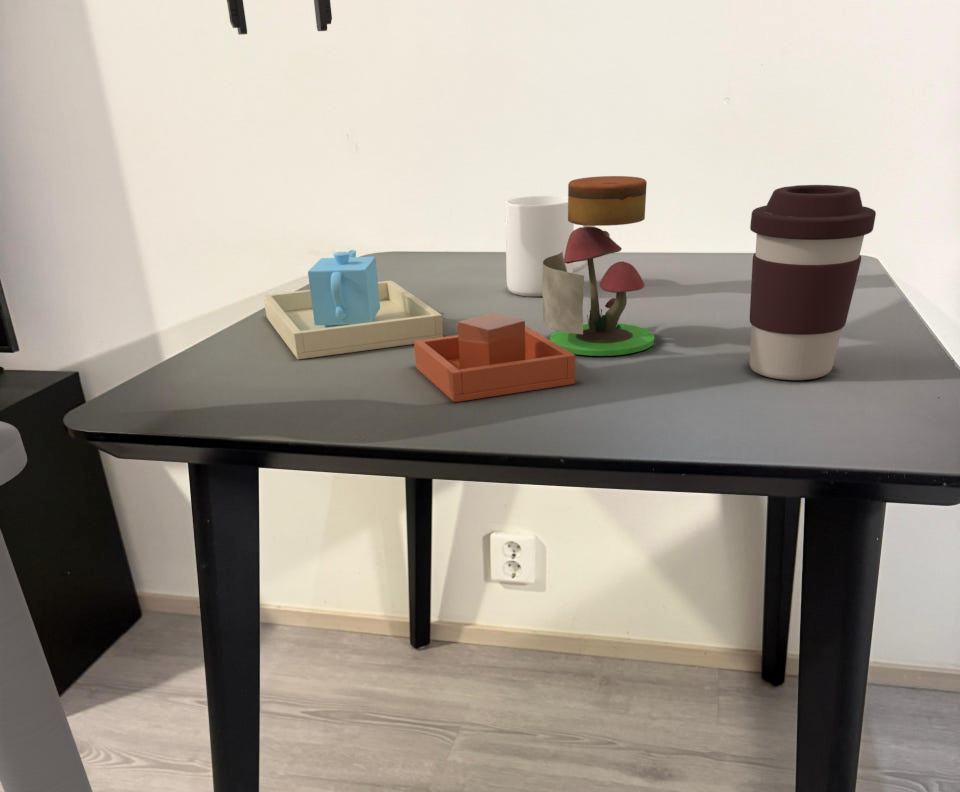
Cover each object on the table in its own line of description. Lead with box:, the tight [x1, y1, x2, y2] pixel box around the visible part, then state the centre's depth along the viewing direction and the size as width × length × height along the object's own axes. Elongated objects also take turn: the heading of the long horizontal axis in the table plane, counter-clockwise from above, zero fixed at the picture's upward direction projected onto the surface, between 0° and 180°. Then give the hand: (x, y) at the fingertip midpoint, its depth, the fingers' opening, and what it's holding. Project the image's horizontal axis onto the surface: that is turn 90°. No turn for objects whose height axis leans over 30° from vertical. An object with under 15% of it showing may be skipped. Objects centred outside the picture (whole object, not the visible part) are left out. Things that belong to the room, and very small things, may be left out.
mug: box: [504, 195, 596, 298], centre depth 114 cm, size 12×8×10 cm
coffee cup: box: [749, 184, 877, 381], centre depth 80 cm, size 10×10×15 cm
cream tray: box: [262, 280, 444, 360], centre depth 103 cm, size 16×20×3 cm
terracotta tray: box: [413, 325, 577, 403], centre depth 86 cm, size 12×12×3 cm
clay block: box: [457, 312, 526, 369], centre depth 85 cm, size 4×4×4 cm
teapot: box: [307, 249, 380, 328], centre depth 101 cm, size 12×6×8 cm, turn 177°
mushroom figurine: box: [542, 175, 655, 357], centre depth 91 cm, size 12×13×15 cm
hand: (282, 32), depth 98 cm, fingers open, 8 cm apart
